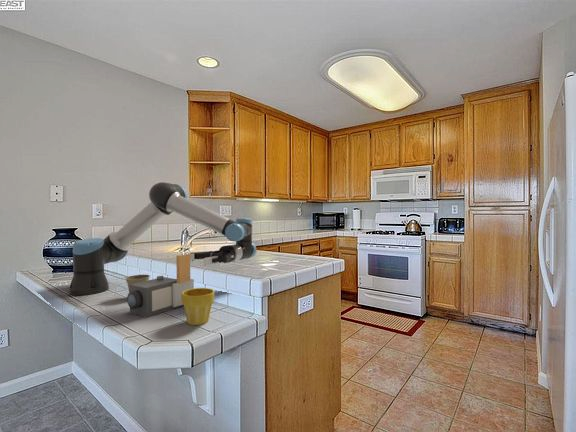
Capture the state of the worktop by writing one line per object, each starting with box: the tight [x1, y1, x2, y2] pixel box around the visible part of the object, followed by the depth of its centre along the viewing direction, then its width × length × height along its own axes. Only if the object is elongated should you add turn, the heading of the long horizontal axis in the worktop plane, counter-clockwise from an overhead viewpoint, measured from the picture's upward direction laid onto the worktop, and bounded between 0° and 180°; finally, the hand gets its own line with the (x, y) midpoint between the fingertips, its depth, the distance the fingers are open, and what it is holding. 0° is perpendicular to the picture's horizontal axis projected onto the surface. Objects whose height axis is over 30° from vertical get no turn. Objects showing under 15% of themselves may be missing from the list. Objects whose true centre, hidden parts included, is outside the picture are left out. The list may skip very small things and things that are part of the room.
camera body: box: [126, 275, 182, 318], centre depth 110 cm, size 16×10×11 cm, turn 148°
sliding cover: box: [172, 253, 195, 307], centre depth 114 cm, size 9×2×18 cm, turn 148°
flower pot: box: [124, 274, 151, 290], centre depth 127 cm, size 9×9×9 cm
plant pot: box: [181, 287, 215, 326], centre depth 98 cm, size 10×10×10 cm
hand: (192, 260), depth 117 cm, fingers open, 13 cm apart
